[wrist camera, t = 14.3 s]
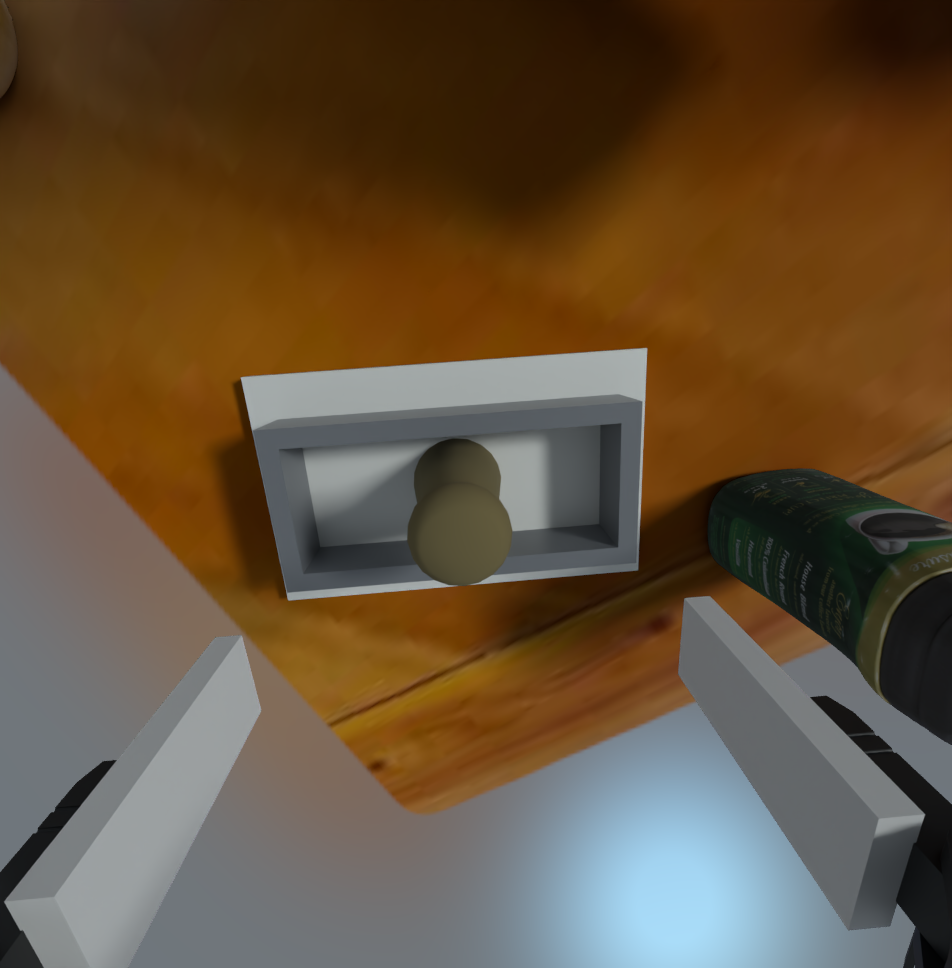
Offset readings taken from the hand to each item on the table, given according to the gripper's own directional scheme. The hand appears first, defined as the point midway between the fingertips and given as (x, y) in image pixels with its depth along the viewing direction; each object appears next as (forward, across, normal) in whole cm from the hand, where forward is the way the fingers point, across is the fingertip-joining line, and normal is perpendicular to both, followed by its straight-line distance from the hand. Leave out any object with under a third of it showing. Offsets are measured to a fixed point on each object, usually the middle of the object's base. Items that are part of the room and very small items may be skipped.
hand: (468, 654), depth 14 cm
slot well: (+20, 0, 0) cm, 20 cm away
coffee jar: (+20, +23, -5) cm, 31 cm away
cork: (+19, 0, 0) cm, 19 cm away
